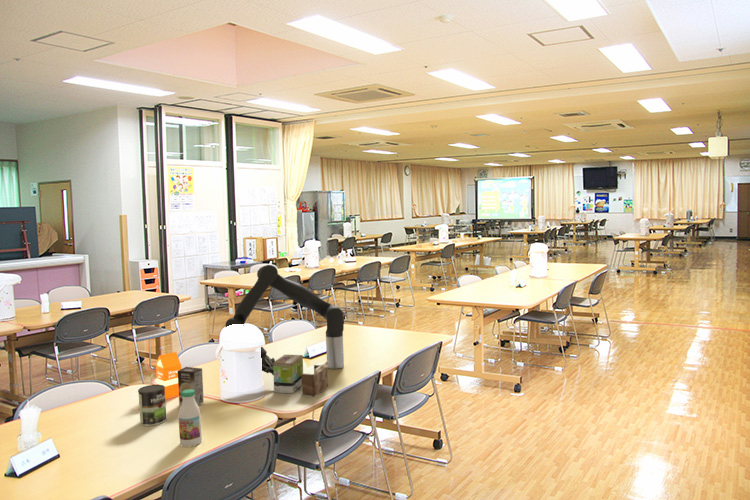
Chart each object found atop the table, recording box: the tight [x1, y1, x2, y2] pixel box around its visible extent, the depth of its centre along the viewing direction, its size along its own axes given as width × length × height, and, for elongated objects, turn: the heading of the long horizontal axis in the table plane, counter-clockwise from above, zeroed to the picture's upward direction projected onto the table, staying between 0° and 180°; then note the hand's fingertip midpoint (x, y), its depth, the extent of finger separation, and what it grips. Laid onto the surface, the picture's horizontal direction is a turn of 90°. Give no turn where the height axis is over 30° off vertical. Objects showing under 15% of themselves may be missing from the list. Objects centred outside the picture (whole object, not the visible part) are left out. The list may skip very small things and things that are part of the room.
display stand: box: [301, 360, 329, 397], centre depth 257 cm, size 15×7×12 cm, turn 162°
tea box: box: [273, 354, 304, 394], centre depth 262 cm, size 15×10×15 cm, turn 168°
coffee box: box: [178, 366, 205, 406], centre depth 244 cm, size 9×6×16 cm
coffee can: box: [137, 384, 167, 427], centre depth 225 cm, size 10×10×14 cm
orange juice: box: [155, 351, 182, 400], centre depth 257 cm, size 8×9×20 cm
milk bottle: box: [178, 389, 203, 447], centre depth 202 cm, size 8×8×20 cm
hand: (278, 376), depth 264 cm, fingers closed
